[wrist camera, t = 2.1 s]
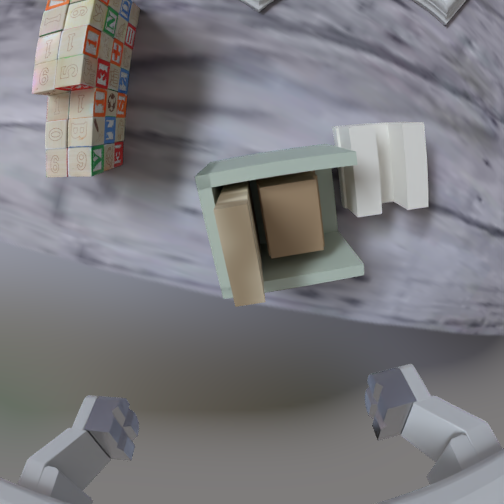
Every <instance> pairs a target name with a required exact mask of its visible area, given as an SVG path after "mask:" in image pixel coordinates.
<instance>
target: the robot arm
mask: <svg viewBox="0 0 504 504" xmlns="http://www.w3.org/2000/svg"><path fill="white" fill-rule="evenodd" d="M367 382H368V385H369V388H368V389H367V390H366V392H365V405H366V409H367V412H368V416H370V417H371V418H373V419H374V421H373V425H372V426H373V429H374V432H375V435H376V437H377V440H381V439H385V438H389V437H393V436H397V435H400V434H401V436H402V437H403V438H404V439H406V440H407V441H408V442H410V443H411V444H412V445H414V446H415V447H416V448H418V449H419V450H420V451H422V452H423V453H424V454H426V455H427V456H428V457H430V458H431V459H432V460H434V461H435V462H436V463H435V465H434V466H433V468H432V469H431V471H430V472H429V474H428V475H427V479H428V481H429V484H430V485H428V486H425V487H423V488H420V489H418V490H415V491H412V492H409V493H407V494H404V495H401V496H398V497H395V498H392V499H389V500H385V501H382V502H379V503H375V504H504V448H503V449H502V447H501V445H500V443H499V442H498V440H497V438H496V437H495V435H494V433H493V431H492V430H491V428H490V426H489V425H488V423H487V422H486V421H484V420H482V419H480V418H478V417H476V416H474V415H472V414H470V413H468V412H467V411H464V410H463V409H461V408H459V407H457V406H455V405H453V404H451V403H449V402H447V401H445V400H443V399H441V398H439V397H437V396H431V395H430V393H429V391H428V389H427V388H426V386H425V384H424V383H423V381H422V379H421V377H420V376H419V374H418V373H417V371H416V369H415V368H414V366H413V365H412V364H408V365H404V366H400V367H397V368H392V369H388V370H384V371H380V372H376V373H372V374H370V375H369V376H368V381H367ZM129 405H130V404H129V403H128V401H127V399H126V398H116V397H102V396H91V395H88V396H87V397H85V399H84V401H83V403H82V405H81V408H80V410H79V412H78V415H77V417H76V419H75V421H74V424H73V426H72V428H68V429H66V430H65V431H64V432H62V433H61V434H60V435H59V436H57V437H56V438H55V439H53V440H52V441H51V442H49V443H48V444H47V445H45V446H44V447H43V448H41V449H40V450H39V451H37V452H36V453H35V454H33V455H32V456H31V457H30V458H28V460H27V462H26V464H25V467H24V469H23V472H22V474H21V476H20V479H19V481H18V484H15V483H13V482H11V481H8V480H6V479H4V478H2V477H0V504H92V503H93V500H92V499H91V497H89V496H88V495H87V494H86V493H84V492H83V490H84V489H85V488H86V487H87V485H88V484H89V483H90V482H91V481H92V480H93V479H94V478H95V477H96V476H97V474H99V473H100V471H101V470H102V469H103V468H104V467H105V466H106V465H107V464H108V463H109V461H110V460H111V459H118V460H130V461H131V460H132V456H133V452H134V448H135V445H134V443H133V440H134V439H135V438H136V437H137V436H138V432H139V422H138V419H137V416H136V414H135V413H134V412H133V411H132V410H130V409H129Z"/></svg>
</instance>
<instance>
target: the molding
mask: <svg viewBox="0 0 504 504" xmlns="http://www.w3.org/2000/svg"><path fill="white" fill-rule="evenodd" d="M240 1H241V2H243V3H245V4H246V5H248V6H250V7H251V8H253V9H255V10H256V11H258V12H260V11H261V10H262V9H264V8H265V7H266V6H267V5H269V4H270V3H271V2H273V1H274V0H240ZM412 1H414V2H416V3H417V4H419V5H420V6H422V7H423V8H424V9H426V10H427V11H428V12H430V13H431V14H432V15H433V16H434V17H436V18H437V19H438V20H439V21H440V22H441V23H442V24H443V25H446V24H447V23H448V22H449V20H450V19H451V18H452V17H453V16H454V14H455V13H456V12H457V11H458V9H459V8H460V7H461V6H462V5H463V3H464V2H465V1H466V0H412Z"/></svg>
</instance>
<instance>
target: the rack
mask: <svg viewBox="0 0 504 504" xmlns="http://www.w3.org/2000/svg"><path fill="white" fill-rule="evenodd" d="M352 165H357V156H356V151H352V150H348V149H345V148H341V147H337V146H332V145H328V144H321V145H313V146H305V147H298V148H291V149H284V150H277V151H271V152H265V153H259V154H253V155H247V156H241V157H236V158H230V159H225V160H220V161H215V162H210V163H209V164H208V165H207V166H206V167H205V168H204V169H202V170H201V171H200V172H199V173H198V174H197V175H196V176H195V181H196V185H197V190H198V194H199V199H200V203H201V208H202V212H203V216H204V221H205V225H206V229H207V234H208V238H209V242H210V246H211V251H212V255H213V259H214V263H215V267H216V271H217V275H218V279H219V283H220V287H221V291H222V295H223V299H227V298H233V294H232V290H231V285H230V281H229V277H228V273H227V268H226V264H225V259H224V255H223V251H222V246H221V242H220V237H219V233H218V228H217V224H216V219H215V215H214V208H215V205H216V203H217V200H218V198H219V196H220V193H221V191H222V188H223V186H224V185H227V184H233V183H238V182H244V181H249V183H250V189H251V194H252V200H253V205H254V211H255V216H256V222H257V227H258V233H259V240H260V250H261V261H262V271H263V282H264V293H266V292H272V291H278V290H284V289H290V288H296V287H302V286H308V285H313V284H319V283H324V282H330V281H335V280H341V279H346V278H352V277H357V276H362V275H364V264H363V262H362V261H361V260H360V258H359V257H358V256H357V255H356V253H355V252H354V251H353V249H352V248H351V247H350V246H349V244H348V243H347V242H346V241H345V239H344V238H343V237H342V236H341V234H340V233H339V232H338V227H337V216H336V206H335V196H334V186H333V178H332V169H331V168H336V167H344V166H352Z"/></svg>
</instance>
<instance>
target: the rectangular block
mask: <svg viewBox="0 0 504 504" xmlns="http://www.w3.org/2000/svg"><path fill="white" fill-rule="evenodd" d="M214 215H215V219H216V224H217V228H218V233H219V237H220V242H221V246H222V251H223V255H224V259H225V264H226V268H227V273H228V277H229V281H230V285H231V290H232V294H233V298H234V302H235V306H243V305H250V304H256V303H263V302H265V293H264V282H263V271H262V261H261V250H260V240H259V233H258V227H257V222H256V216H255V211H254V205H253V200H252V194H251V189H250V183H249V181H244V182H238V183H233V184H227V185H224V186H223V188H222V191H221V193H220V196H219V198H218V200H217V203H216V205H215V208H214Z"/></svg>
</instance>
